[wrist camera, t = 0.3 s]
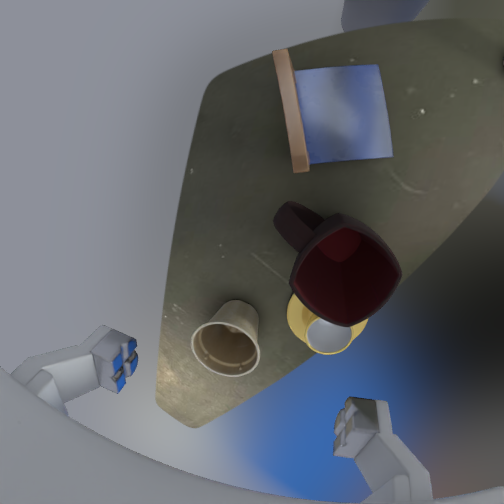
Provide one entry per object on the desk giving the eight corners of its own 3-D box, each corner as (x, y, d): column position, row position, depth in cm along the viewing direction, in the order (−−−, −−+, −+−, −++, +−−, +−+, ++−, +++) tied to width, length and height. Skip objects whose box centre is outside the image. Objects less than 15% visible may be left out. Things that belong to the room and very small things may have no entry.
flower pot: (282, 320, 44) (275, 356, 37) (242, 350, 48) (228, 386, 40) (236, 278, 43) (219, 308, 36) (199, 313, 47) (178, 345, 39)
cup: (380, 326, 41) (386, 348, 36) (310, 356, 45) (308, 379, 40) (347, 260, 39) (351, 278, 34) (271, 298, 43) (265, 318, 38)
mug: (341, 287, 41) (347, 339, 30) (262, 225, 40) (241, 260, 29) (389, 235, 37) (416, 273, 26) (309, 166, 36) (307, 177, 25)
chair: (367, 77, 30) (397, 41, 17) (379, 154, 34) (418, 163, 20) (288, 84, 33) (271, 50, 19) (301, 161, 36) (293, 173, 22)
